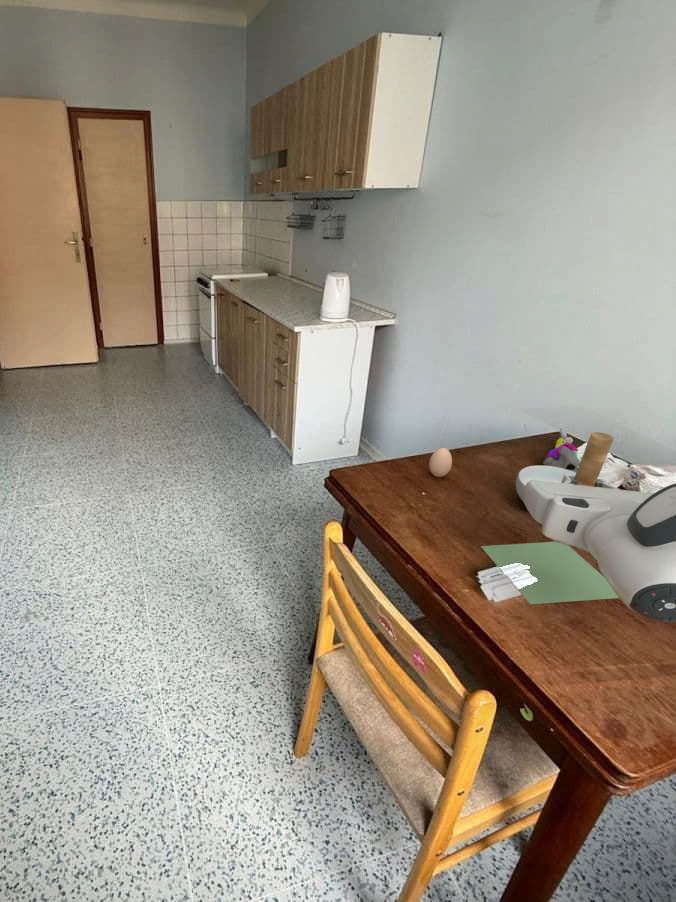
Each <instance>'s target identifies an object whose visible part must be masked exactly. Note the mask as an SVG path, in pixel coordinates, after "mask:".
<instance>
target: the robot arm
mask: <svg viewBox="0 0 676 902" xmlns="http://www.w3.org/2000/svg"><path fill="white" fill-rule="evenodd" d="M576 483H577V479H576V478H575V477H574V476H566V475H564V477H563V479H562V483H556V482H547V481H539V480H530V481H529V482H527V484H526V486H525V488H524V492H523V496H522V499H523V500H522V499H521V500H522V502H523V504H524V506H525V508H526V510H527V511H528V513H529V514H530V516H531V517H532V519H533V520H534V521H536V522H537V523H538V524H540V525H542V526H541V533H542V535H544V536H545V537H547V538H549V539H551V538H552V539H555V540H558V541H562V542H565V543H568V544H570V545H569V546H571V545H573V547H576V548H578V549H580V550H583V551H584V552H587V553H590V555H591V556H592V557H593V558H594V559H595V560H597V565H598V569H599V570H600V573H601V575H602V576H603V577H605V579H606V580H607V582H608V583H609V585H610V586H611V588H612V589H613V591H614V592H615V593H616V595H617V596H618V597H619V598H618V599H619V600H620V601H621V602H622V603H623V604H624V605H625V606H626V607H627V608H629V610H631V611H633V612H634V613H636V614H637V615H640V616H641V617H644V618H647V619H650V620H653V621H657V622H663V623H664V622H665V623H676V482H675V483H672V484H669V485H667V486H665V487H662V488H661V489H660V490H658V491H656V492H654V493H653V492H645V491H636V490H628V489H621V488H619V487H616V486H614V485H612V484H609V483H608V482H607V481H606V480H605V479H604V478H603V479H602V478H598V479H597V481H596V484H595V486H594V487H592V486H583V485H575V484H576ZM552 539H551V540H552Z"/></svg>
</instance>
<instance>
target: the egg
mask: <svg viewBox="0 0 676 902" xmlns="http://www.w3.org/2000/svg"><path fill="white" fill-rule="evenodd" d="M452 465H453V458H452V454H451V452H450V450H449V449H448V448H446V447H439V448H437V449H436V450H435V451H434V452H433V453H432V455H431V456H430V458H429V463H428V468H429V471H430V473H431V474H432V476H434V477H436V478H442V477H444V476H446V475H447V474H448V473H449V472H450V471H451V469H452Z"/></svg>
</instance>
